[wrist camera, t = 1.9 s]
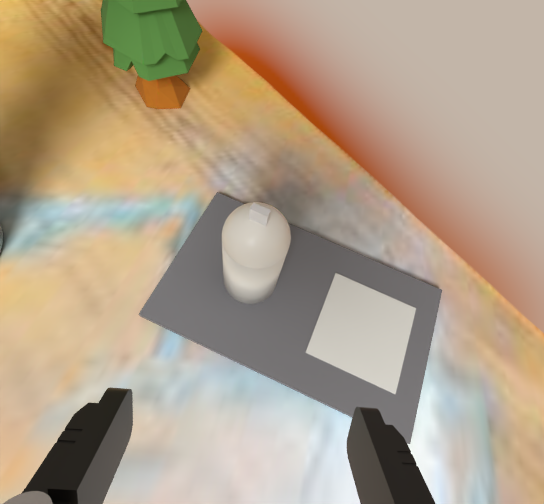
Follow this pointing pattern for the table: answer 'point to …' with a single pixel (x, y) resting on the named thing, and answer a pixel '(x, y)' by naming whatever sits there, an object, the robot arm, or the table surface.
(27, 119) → the table surface
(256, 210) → the white rounded cylinder
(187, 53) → the decorative tree
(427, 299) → the mat
